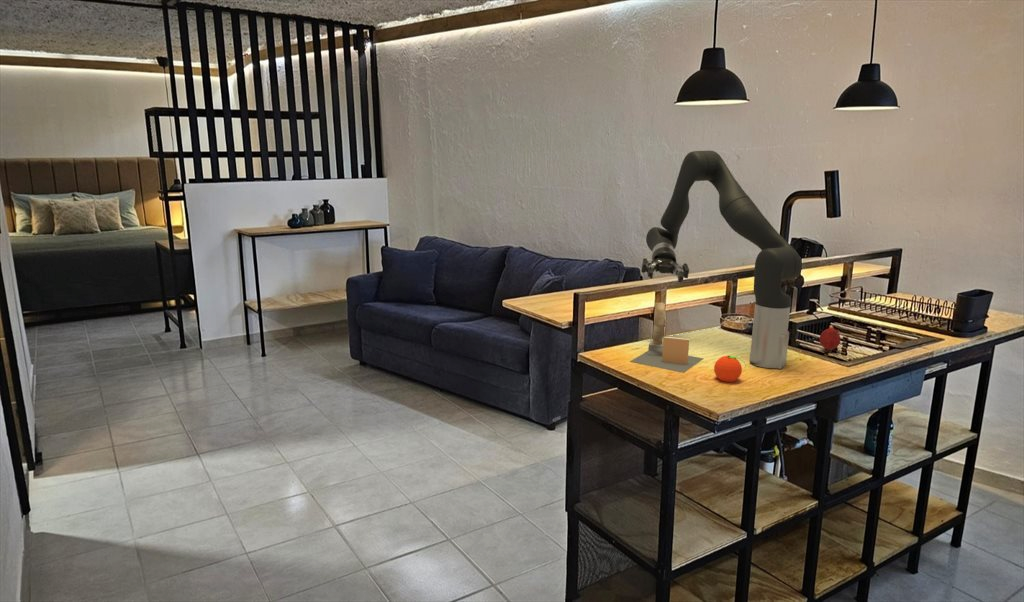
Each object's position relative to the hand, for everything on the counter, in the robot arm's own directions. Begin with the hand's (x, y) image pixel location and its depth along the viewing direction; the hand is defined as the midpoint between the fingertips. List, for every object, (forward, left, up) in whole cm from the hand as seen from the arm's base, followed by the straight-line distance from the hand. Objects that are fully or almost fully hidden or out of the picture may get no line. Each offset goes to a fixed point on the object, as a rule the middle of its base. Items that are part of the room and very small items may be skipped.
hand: (665, 277), depth 201 cm
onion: (-43, -27, -22) cm, 55 cm away
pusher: (-2, +9, -21) cm, 23 cm away
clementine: (-27, +20, -22) cm, 40 cm away
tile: (-10, +14, -21) cm, 27 cm away
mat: (-7, +14, -22) cm, 27 cm away
